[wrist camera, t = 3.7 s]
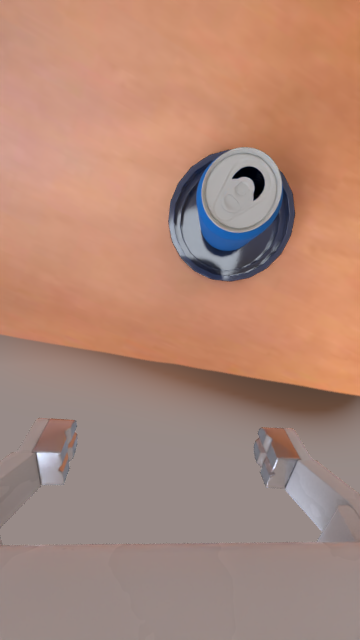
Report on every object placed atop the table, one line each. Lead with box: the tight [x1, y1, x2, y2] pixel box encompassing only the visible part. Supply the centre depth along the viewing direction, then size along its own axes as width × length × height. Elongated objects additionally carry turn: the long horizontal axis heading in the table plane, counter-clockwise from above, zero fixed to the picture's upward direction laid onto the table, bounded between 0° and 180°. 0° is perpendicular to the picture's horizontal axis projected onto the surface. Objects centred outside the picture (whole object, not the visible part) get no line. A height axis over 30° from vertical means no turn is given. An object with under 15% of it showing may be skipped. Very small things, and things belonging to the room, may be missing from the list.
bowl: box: [168, 150, 295, 281], centre depth 28 cm, size 13×13×3 cm
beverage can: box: [196, 147, 283, 251], centre depth 24 cm, size 6×6×12 cm
